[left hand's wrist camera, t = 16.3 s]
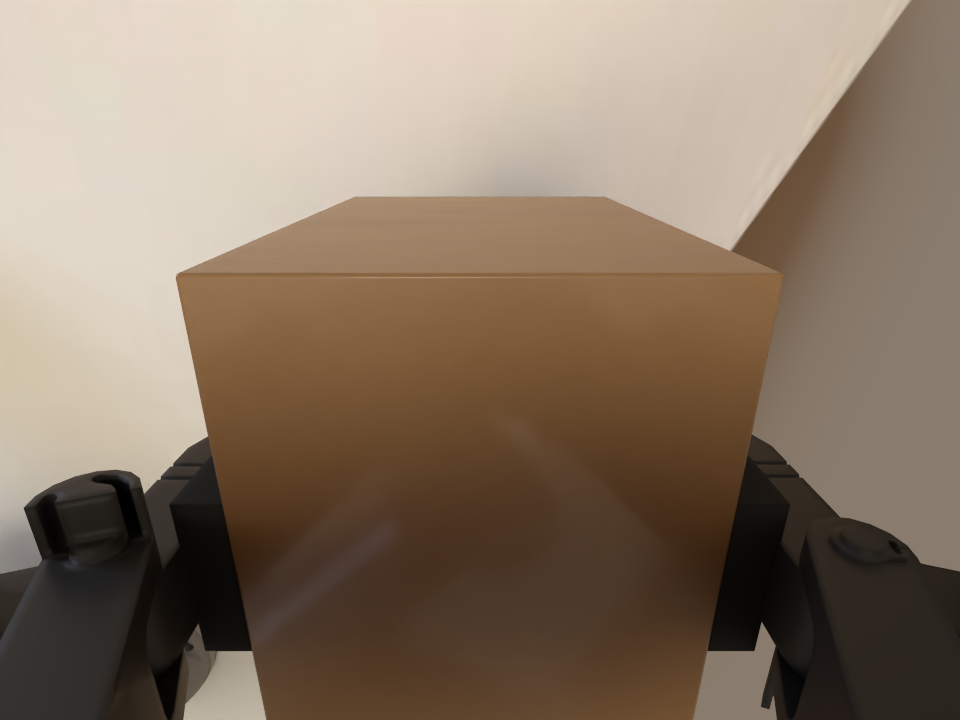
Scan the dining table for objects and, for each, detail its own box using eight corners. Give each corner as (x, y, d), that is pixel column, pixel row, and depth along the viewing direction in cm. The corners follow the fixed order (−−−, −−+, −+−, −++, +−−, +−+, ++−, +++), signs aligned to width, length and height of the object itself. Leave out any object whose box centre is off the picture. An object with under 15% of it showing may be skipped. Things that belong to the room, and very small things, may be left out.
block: (584, 469, 18) (682, 777, 9) (375, 469, 18) (276, 778, 9) (605, 196, 15) (787, 273, 6) (353, 196, 15) (172, 273, 6)
